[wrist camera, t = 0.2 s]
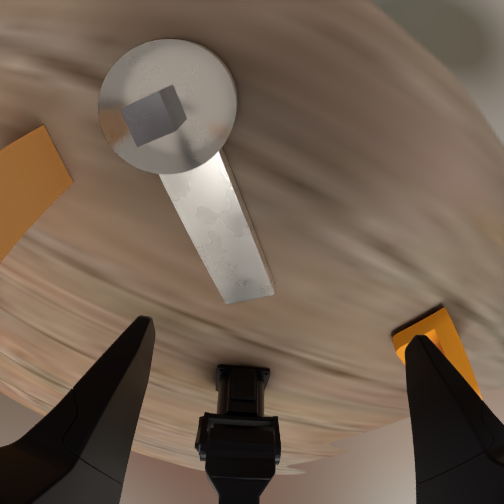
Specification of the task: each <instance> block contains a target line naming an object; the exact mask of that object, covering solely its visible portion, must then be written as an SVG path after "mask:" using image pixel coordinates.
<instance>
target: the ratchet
mask: <svg viewBox="0 0 504 504" xmlns="http://www.w3.org/2000/svg"><path fill="white" fill-rule="evenodd" d="M237 107H238V95H237V88H236V84H235V81H234V78H233V76H232V74H231V72H230V70H229V69H228V67H227V66H226V64H225V63H224V62H223V61H222V60H221V58H220V57H218V56H217V55H216V54H215V53H214V52H212V51H211V50H209V49H208V48H206V47H204V46H202V45H200V44H197V43H194V42H191V41H185V40H178V39H161V40H154V41H150V42H147V43H144V44H141V45H139V46H137V47H135V48H133V49H131V50H130V51H128V52H127V53H126V54H124V55H123V56H122V57H121V58H120V59H119V60H118V61H117V62H116V63H115V64H114V65H113V66H112V68H111V69H110V70H109V72H108V74H107V76H106V77H105V79H104V82H103V84H102V87H101V91H100V94H99V101H98V114H99V121H100V125H101V129H102V131H103V134H104V136H105V138H106V140H107V141H108V143H109V145H110V146H111V147H112V149H113V150H114V151H115V152H116V153H117V154H118V155H119V156H120V157H121V158H122V159H123V160H125V161H126V162H127V163H129V164H131V165H132V166H134V167H136V168H138V169H140V170H143V171H146V172H150V173H155V174H159V176H160V178H161V180H162V182H163V184H164V186H165V188H166V191H167V193H168V195H169V197H170V199H171V201H172V203H173V205H174V207H175V209H176V211H177V213H178V214H179V216H180V218H181V220H182V222H183V224H184V226H185V228H186V230H187V232H188V234H189V236H190V238H191V240H192V242H193V244H194V246H195V247H196V249H197V251H198V253H199V255H200V257H201V259H202V261H203V263H204V264H205V266H206V268H207V270H208V272H209V274H210V276H211V278H212V279H213V281H214V283H215V285H216V287H217V289H218V290H219V292H220V294H221V296H222V298H223V300H224V301H225V303H226V305H228V304H233V303H238V302H242V301H247V300H252V299H256V298H261V297H265V296H270V295H274V294H275V287H274V280H273V277H272V275H271V272H270V269H269V267H268V264H267V261H266V259H265V256H264V254H263V251H262V248H261V246H260V243H259V240H258V238H257V235H256V233H255V230H254V227H253V225H252V222H251V220H250V217H249V214H248V212H247V209H246V207H245V204H244V201H243V199H242V196H241V194H240V191H239V188H238V186H237V183H236V181H235V178H234V176H233V173H232V170H231V168H230V165H229V163H228V160H227V158H226V155H225V153H224V150H223V147H222V146H223V145H224V144H225V142H226V140H227V139H228V137H229V135H230V133H231V130H232V128H233V125H234V121H235V118H236V114H237Z"/></svg>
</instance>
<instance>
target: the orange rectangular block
mask: <svg viewBox="0 0 504 504" xmlns="http://www.w3.org/2000/svg"><path fill="white" fill-rule="evenodd" d="M72 183H73V180H72V178H71V177H70V175H69V173H68V171H67V169H66V167H65V165H64V164H63V162H62V160H61V158H60V156H59V154H58V152H57V150H56V148H55V146H54V144H53V142H52V140H51V138H50V136H49V134H48V132H47V130H46V128H45V126H44V125H42V126H40V127H39V128H37V129H35V130H33V131H31V132H30V133H28V134H26V135H25V136H23V137H21V138H19V139H18V140H16V141H14V142H13V143H11V144H10V145H8V146H6V147H5V148H3V149H2V150H0V263H1V261H2V260H3V259H4V257H5V256H6V255H7V254H8V253H9V251H10V250H11V249H12V248H13V246H14V245H15V244H16V243H17V242H18V240H19V239H20V238H21V237H22V236H23V235H24V233H25V232H26V231H27V230H28V229H29V228H30V227H31V226H32V224H33V223H34V222H35V221H36V220H37V219H38V218H39V217H40V216H41V215H42V214H43V213H44V211H45V210H46V209H47V208H48V207H49V206H50V205H51V204H52V203H53V202H54V201H55V200H56V199H57V198H58V197H59V196H60V195H61V194H62V193H63V192H64V191H65V190H66V189H67V188H68V187H69V186H70V185H71V184H72Z"/></svg>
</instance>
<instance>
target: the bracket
mask: <svg viewBox="0 0 504 504" xmlns="http://www.w3.org/2000/svg"><path fill="white" fill-rule="evenodd" d="M415 335H426V336H427V337H428V338H429V339H430V340H431V341H432V342H433V343H434V344H435V345H436V346H437V348H438V349H439V350H440V351H441V352H442V353H443V354H444V355H445V357H446V358H447V359H448V360H449V361H450V362H451V363H452V365H453V366H454V367H455V368H456V369H457V370H458V372H459V373H460V374H461V375H462V376H463V377H464V379H465V380H466V381H467V382H468V383H469V385H470V386H471V387H472V388H473V389H474V391H475V392H476V393H477V394H478V395H479V397H480V398H481V400H482V397H481V394H480V390H479V387H478V384H477V381H476V379H475V376H474V373H473V371H472V368H471V365H470V363H469V360H468V358H467V355H466V353H465V350H464V348H463V345H462V343H461V340H460V338H459V336H458V333H457V331H456V329H455V327H454V324H453V322H452V320H451V318H450V316H449V314H448V312H447V310H446V308H445V307H444V308H442V309H440V310H439V311H437V312H435V313H434V314H432V315H430V316H428V317H427V318H425V319H423V320H421V321H419V322H418V323H416V324H414V325H412V326H410V327H408V328H406V329H405V330H403V331H401V332H399V333H397V334H395V335H394V336H393V338H392V341H393V344H394V347H395V350H396V353H397V355H398V356H399V358H400V359H401V360H402V362H403V363H404V365H405V349H406V347H407V345H408V344H409V343H410V341H411V340H412V339H413V337H414V336H415Z"/></svg>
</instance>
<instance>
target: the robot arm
mask: <svg viewBox="0 0 504 504" xmlns="http://www.w3.org/2000/svg"><path fill="white" fill-rule="evenodd" d="M154 343H155V328H154V324H153V319H152V318H151V317H149V316H142V315H141V316H139V317H137V318H136V319H135V321H134V322H133V323H132V324H131V325H130V326H129V327H128V328H127V329H126V330H125V331H124V332H123V333H122V334H121V335H120V336H119V338H118V339H117V340H116V341H115V342H114V343H113V344H112V345H111V346H110V347H109V348H108V349H107V351H106V352H105V353H104V354H103V355H102V356H101V357H100V358H99V359H98V360H97V361H96V362H95V364H94V365H93V366H92V367H91V368H90V369H89V370H88V371H87V372H86V374H85V375H84V376H83V377H82V378H81V379H80V380H79V381H78V382H77V384H76V385H75V386H74V387H73V389H71V390H70V391H69V392H68V394H67V395H66V396H65V397H64V398H63V399H62V400H61V401H60V402H59V403H58V404H57V405H56V406H55V407H54V408H53V409H52V410H51V411H50V412H49V413H48V414H47V415H46V416H45V417H44V418H43V419H42V420H40V421H39V422H38V423H37V424H36V425H35V426H34V427H33V428H32V429H30V430H29V431H28V432H27V433H26V434H25V435H24V436H23V437H21V438H20V439H19V440H17V441H15V442H14V443H12V444H9V445H6V446H3V447H0V504H119V502H120V497H121V492H122V487H123V482H124V477H125V472H126V468H127V464H128V459H129V455H130V451H131V446H132V442H133V438H134V434H135V430H136V426H137V422H138V418H139V414H140V410H141V406H142V403H143V399H144V395H145V391H146V388H147V384H148V380H149V374H150V368H151V361H152V355H153V349H154ZM405 367H406V384H407V394H408V401H409V409H410V417H411V424H412V434H413V445H414V457H415V472H416V504H504V425H503V424H502V422H501V421H500V420H499V419H498V418H497V417H496V416H495V415H494V414H493V412H492V411H491V410H490V409H489V408H488V406H487V405H486V404H485V403H484V401H483V400H481V398H480V397H479V395H478V394H477V393H476V392H475V391H474V389H473V388H472V387H471V386H470V385H469V383H468V382H467V381H466V380H465V379H464V377H463V376H462V375H461V374H460V373H459V372H458V370H457V369H456V368H455V367H454V366H453V365H452V363H451V362H450V361H449V360H448V359H447V358H446V357H445V355H444V354H443V353H442V352H441V351H440V350H439V349H438V348H437V346H436V345H435V344H434V343H433V342H432V341H431V340H430V339H429V338H428V337H427V336H426V335H415V336H414V337H413V339H412V340H411V341H410V343H409V344H408V345H407V347H406V349H405ZM269 376H270V370H269V369H262V368H248V367H235V366H224V365H219V366H217V377H216V391H218V403H217V414H213V413H209V412H205V414H204V416H202V417H199V426H198V432H197V437H196V442H195V449H196V450H197V451H198V452H199V455H200V461H206V463H205V471H206V475H207V479H208V481H209V483H210V484H211V486H212V488H213V489H214V491H215V493H216V494H217V496H218V498H219V504H259V497H260V495H261V493H262V492H263V491H264V489H265V488H266V486H267V485H268V483H269V481H270V480H271V479H272V477H273V476H274V474H275V465H278V464H279V462H280V456H281V441H280V432H279V424H278V416H273V417H264V390H265V387H266V385H267V382H268V379H269Z"/></svg>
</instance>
